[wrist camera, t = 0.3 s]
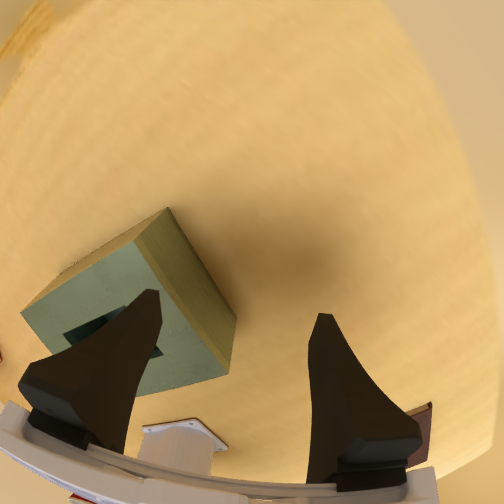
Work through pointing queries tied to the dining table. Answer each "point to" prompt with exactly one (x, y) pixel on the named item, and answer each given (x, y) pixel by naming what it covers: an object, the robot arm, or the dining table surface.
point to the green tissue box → (131, 286)
